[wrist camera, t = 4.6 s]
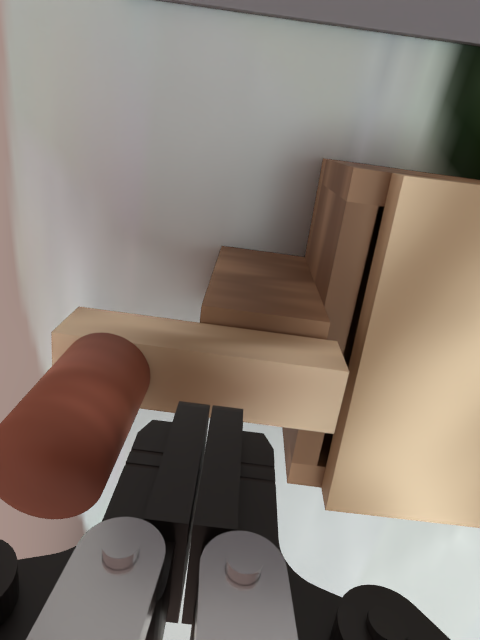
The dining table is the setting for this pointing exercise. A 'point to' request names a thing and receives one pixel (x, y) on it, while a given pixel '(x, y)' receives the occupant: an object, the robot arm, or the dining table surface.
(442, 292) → the lid
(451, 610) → the dining table surface
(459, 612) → the dining table surface
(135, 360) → the wooden block with peg
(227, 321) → the toolbox
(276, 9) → the mat
